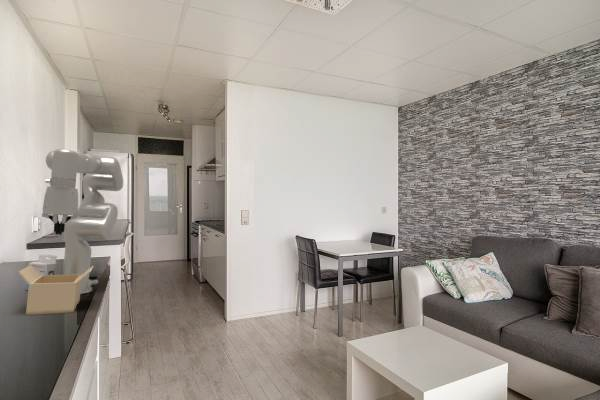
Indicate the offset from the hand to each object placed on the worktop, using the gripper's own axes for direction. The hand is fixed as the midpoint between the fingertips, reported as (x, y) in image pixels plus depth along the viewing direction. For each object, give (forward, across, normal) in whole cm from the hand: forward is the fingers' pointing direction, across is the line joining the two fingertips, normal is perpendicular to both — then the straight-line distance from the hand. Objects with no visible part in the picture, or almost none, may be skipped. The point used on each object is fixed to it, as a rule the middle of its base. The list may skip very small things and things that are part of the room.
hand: (58, 234), depth 122 cm
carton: (+26, +1, -2) cm, 26 cm away
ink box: (+27, -8, +26) cm, 38 cm away
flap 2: (+14, +9, -2) cm, 17 cm away
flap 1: (+14, -7, -2) cm, 15 cm away
